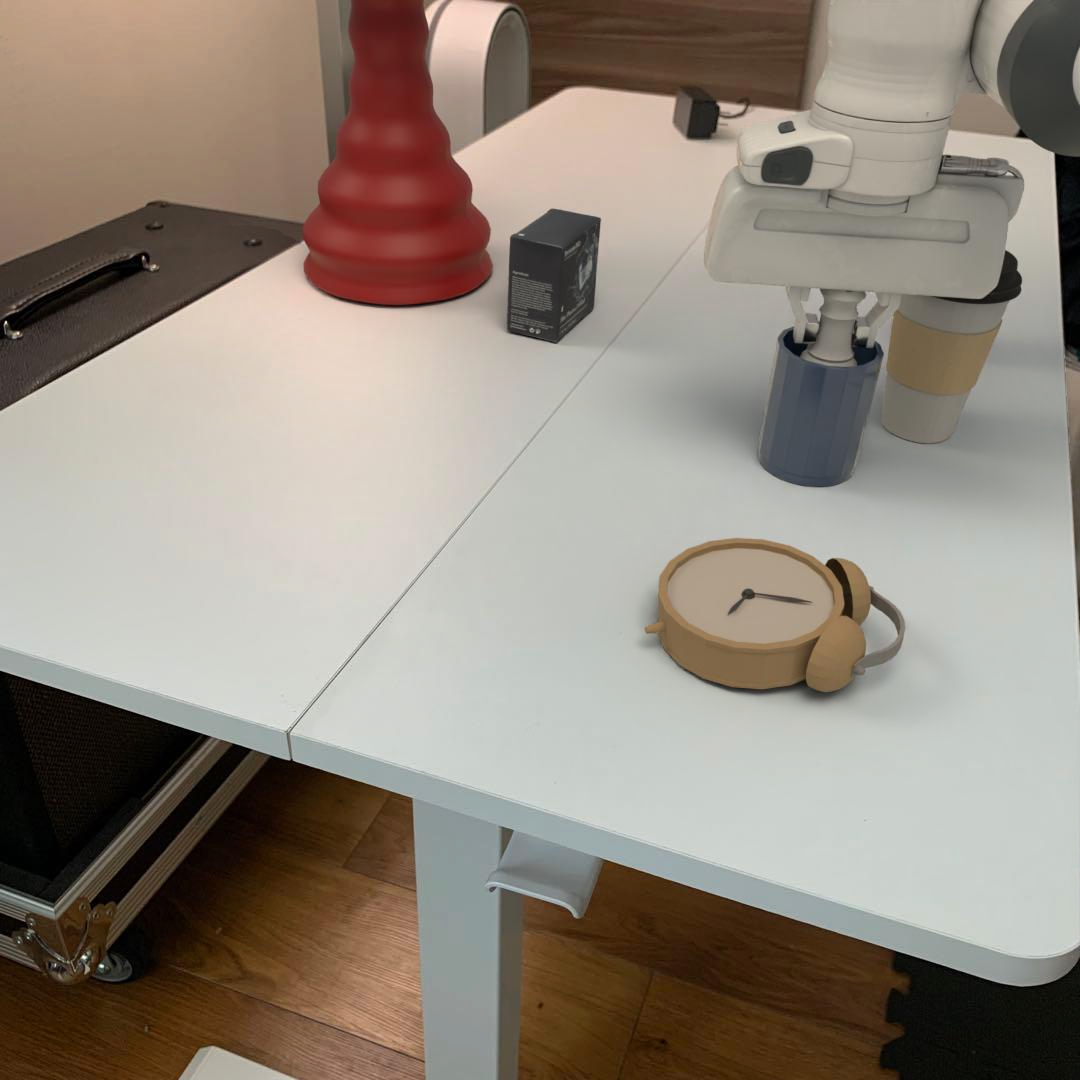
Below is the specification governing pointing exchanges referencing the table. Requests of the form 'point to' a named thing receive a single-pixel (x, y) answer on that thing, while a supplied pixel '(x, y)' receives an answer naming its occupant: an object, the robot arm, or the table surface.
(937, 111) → the robot arm
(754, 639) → the alarm clock
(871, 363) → the tumbler
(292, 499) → the table surface
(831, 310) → the rook chess piece
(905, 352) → the coffee cup
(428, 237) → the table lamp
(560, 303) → the box
